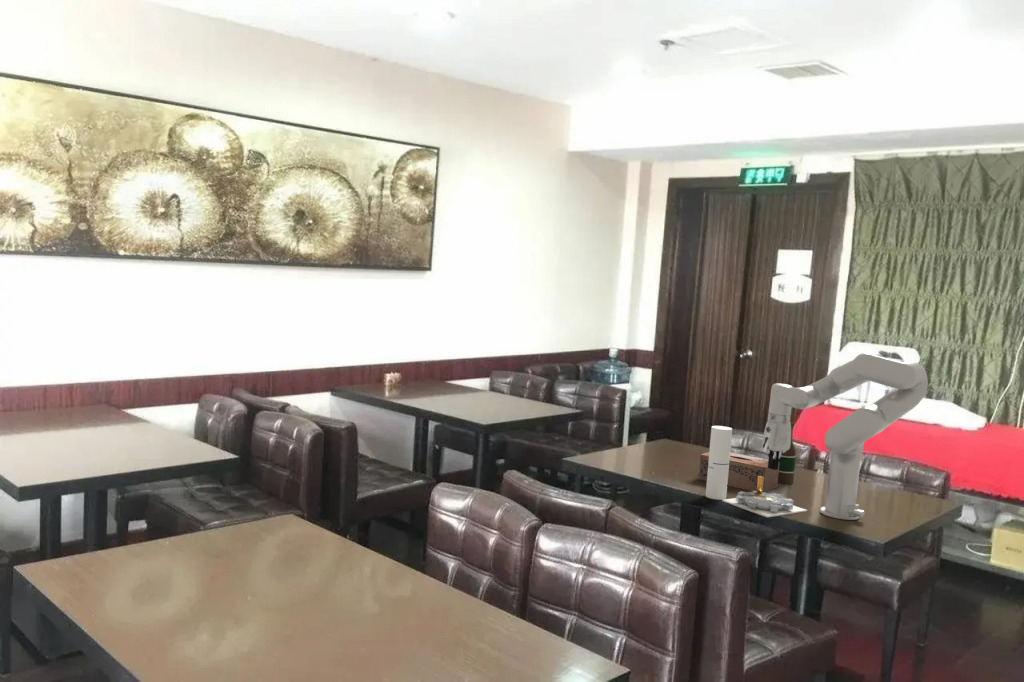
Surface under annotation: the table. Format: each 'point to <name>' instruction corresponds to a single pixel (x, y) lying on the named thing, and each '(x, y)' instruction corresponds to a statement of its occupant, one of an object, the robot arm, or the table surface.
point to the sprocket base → (764, 512)
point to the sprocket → (764, 499)
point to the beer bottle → (787, 463)
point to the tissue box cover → (744, 472)
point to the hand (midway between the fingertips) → (772, 468)
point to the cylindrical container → (718, 462)
